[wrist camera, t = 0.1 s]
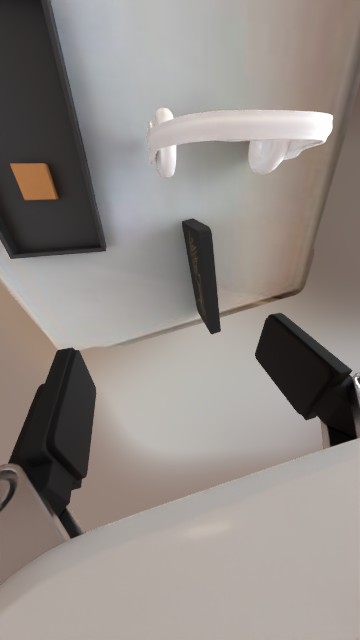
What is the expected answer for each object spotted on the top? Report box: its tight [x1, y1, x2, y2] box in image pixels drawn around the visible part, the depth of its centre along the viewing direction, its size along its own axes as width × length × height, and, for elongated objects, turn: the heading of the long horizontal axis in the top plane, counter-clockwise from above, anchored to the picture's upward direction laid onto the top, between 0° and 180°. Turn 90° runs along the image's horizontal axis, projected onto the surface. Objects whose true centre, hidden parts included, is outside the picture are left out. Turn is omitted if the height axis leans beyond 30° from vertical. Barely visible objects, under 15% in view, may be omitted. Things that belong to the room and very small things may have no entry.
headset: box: [146, 108, 333, 178], centre depth 23 cm, size 20×7×18 cm, turn 92°
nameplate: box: [182, 219, 221, 334], centre depth 38 cm, size 21×2×10 cm, turn 12°
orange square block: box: [10, 163, 58, 200], centre depth 27 cm, size 4×4×2 cm
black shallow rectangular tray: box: [0, 0, 106, 259], centre depth 25 cm, size 25×14×3 cm, turn 1°
